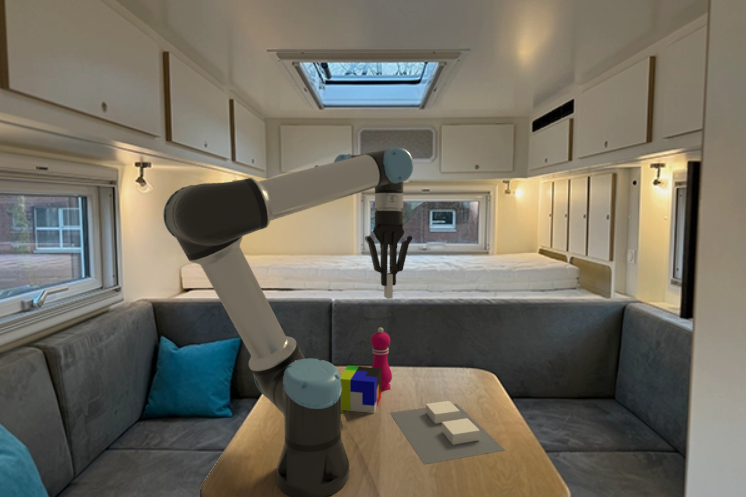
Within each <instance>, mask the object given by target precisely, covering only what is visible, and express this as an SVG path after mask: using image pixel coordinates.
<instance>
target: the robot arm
mask: <svg viewBox="0 0 746 497" xmlns="http://www.w3.org/2000/svg"><path fill="white" fill-rule="evenodd" d="M413 171H414V161H413V157H412V155H411V153H410V152H409V151H408V150H407V149H406V148H403V147H390V148H389V147H388V148H385V149H379V150H376V151H372V152H368V153H367V152H366V153H361V154H351V153H348V154H341V153H340V154H338V156H336V157H335V158H334V161H333V162H331V163H327V164H322V165H319V166H314V167H310V168H307V169H306V168H305V169H303V170H299V171H295V172H291V173H287V174H283V175H279V176H275V177H272V178H271V177H270V178H267V179H264V180H263V179H262V180H259V181H257V180H256V179H254V178H252V177H248V178H243V179H240V180H235V181H234V180H233V181H227V182H226V181H225V182H207V183H206V182H205V183H198V184H190V185H188V186H182V187H181V188H179V189H177V190H176V191H174V192H173V193H172V194H171V195H170V196H169V198H168V199H167V200H166V202H165V204H164V208H163V213H162V214H163V223H164V225H165V226H164V227H165V228H166V229H167V231H168V233H170V234H171V236H173V237H174V238H175V239H176V240H177V242H178V244H179V246H180V247H181V249H182V251H183V253H184V254H185V257H187V260H188V262H190V263H194V264H197V265H199V266H200V267H201V268H202V270H203V272H204V274H205V276H206V278H207V279H208V280H209V283H210V284H211V286H212V289H213V290H214V292H215V293H216V295H217V297H218V299H219V301H220V302H221V304H222V305H223V307H224V309H225V312H226V313H227V315H228V317H229V318H230V320H231V322H232V324H233V326H234V328H235V329H236V331H237V332H238V335H239V336H240V339H242V340H241V341H242V342H243V343H244V345H245V347H246V349H247V351H248V352H249V354H250V358H249V360H248V367H249V369H250V370H251V373H252V375H253V379H254V383H255V386H256V387H257V389H258V391H259V392H260V393H261V394H262V395H263V396H264V397H265V398H267V400H269V401H270V402H271V403H272V405H274V406H275V407H276V408H277V409H278V410H279V411H280V413H282V414H283V416H284V420H283V422H284V444H283V447H282V451H281V454H280V455H279V456H280V457H279V460H278V463H277V466H276V484H277V486H278V488H279V489H280V490H281V491H282V493H284V494H286V495H287V496H289V497H328V496H331V495H333V494H335V493H337V492H339V491H340V490H341V489H342V488H343V487H345V485H346V484H347V482H348V480H349V478H350V460H349V458H348V455H347V452H346V449H345V446H344V442H343V440H342V414H341V392H342V386H341V381H340V376H341V374H340V371H339V369H338V368H337V367H336V366H335V365H334V364H333V363H331V362H330V361H326V360H324V359H321V360H319V359H318V358H311V357H309V358H305V356H304V354H303V352H302V350H301V348H300V347H299V344H298V343H297V341H296V339H295V338H293V337H292V336H287V335H286V334H285V332H284V330H283V328H282V327H281V325H280V322H279V320H278V318H277V317H276V314H275V312H274V310H273V309H272V306H271V305H270V303H269V301H268V299H267V297H266V295H265V293H264V291H263V289H262V287H261V285H260V283H259V282H258V279H257V277H256V276H255V274H254V272H253V270H252V268H251V266H250V264H249V262H248V260H247V258H246V256H245V254H244V253H243V251H242V249H241V243H242V240H243V237H244V236H246V235H249V234H253V233H254V232H257V231H260V230H263V229H266V228H268V227H269V225H270V223H271V222H272V221H274V220H276V219H280V218H284V217H287V216H289V215H293V214H296V213H299V212H303V211H305V210H308V209H311V208H315V207H318V206H322V205H325V204H327V203H330V202H334V201H337V200H341V199H343V198H347V197H350V196H354V195H356V194H359V193H362V192H365V191H368V190H372V189H374V208H375V209H376V210H375V211H374V227H373V230H372V233H371V234H369V235H366V236H365V237H364V240H365V242H366V243H367V244H368V248H369V253H370V257H371V261H372V266H373V269H374V271H375V272H377V273H379V274H380V285H381V286H382V287H383V288H384V289H383V291H384V292H383V293H384V294H383V297H384V298H385V299H387V300H388V299H393V295H394V294H393V287H394V286H396V284H397V274H398V273H399V272H403V270H404V266H405V262H406V258H407V254H408V249H409V246H410V243H411V242H412V240H413V236H412V235H409V234H407V233H406V232H405V228H404V212H403V210H402V209H403V208H404V182H405V181H407V180H409V178H411V176H412V174H413ZM376 240H377V242H379V248H380V260H379V255H378V250H377V247H376V243H375V241H376ZM400 241H401V244H400V245H401V246H400V248H399V249H400V250H399V253H398V243H399V242H400ZM388 249H389V253H388ZM397 253H398V255H397ZM388 255H389V272H388ZM397 256H398V258H397Z"/></svg>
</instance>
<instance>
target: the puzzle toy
mask: <svg viewBox="0 0 746 497" xmlns="http://www.w3.org/2000/svg"><path fill="white" fill-rule="evenodd" d="M371 367H372V366H370V367H369V366H357V365H347V366H346V368H345V369H344V371H343V372H342V374H340V381H341V386H342V392H341V415H345V413H344V411H347V412H348V411H350V412H359V413H360V412H361V413H370V414H375V412H376V410H377V407H378V406H379V403H380V400H381V398H382V391H381V368H371Z"/></svg>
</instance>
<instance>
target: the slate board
mask: <svg viewBox="0 0 746 497" xmlns="http://www.w3.org/2000/svg"><path fill="white" fill-rule="evenodd" d="M452 404H453V405H454V406H455V407H456V408H457V409H458V410H459V411H460V419H466V418H468V419H469V420H470V421H471V422H472V423H473V424H474V425H475V426H476V427H477V428H478V429H479V430H480V440H479V441H473V442H467V443H460V444H454V445H453V444H452V443H451V442H450V441H449V440H448V438H447V437H446V436H445V435H444V434H443V433H442V423H436V424H435V423H434V422H433V421H432V420H431V418H430V417H429V416H428V415H427V414H426V407H421V408H414V409H406V410H401V411H392V412H391V411H390V412H389V414H390V416H391V417H392V419H393V420H394V421H395V424H396V425H397V426H398V427H399V429H400V431H401V432H402V433H403V435H404V436H405V438H406V440H407V441H408V442H409V444H410V446H411V447H412V448H413V450H414V451H415V453H416V454H417V456H418V457H419V459H420V460H421V462H422V463H423V465H429V464H436V463H440V462H445V461H450V460H457V459H458V460H459V459H463V458H468V457H474V456H475V457H476V456H479V455H481V456H482V455H485V454H493V453H497V452H503V451H506V449H505V448H504V447H503V446H502V445H501V444H500V443H499V442H498V441H496V440H495V439H494V438H493V437H492V436H491V435H490V434H489V432H487V431H486V430H485V429H484V428H483V427H482V426H481V425H480V424H479V423H478V422H477V421H475V420H474V419H473V418H472V416H470V415H469V414H468V413H467V412H466V411H465V410H464V409H463V408H462V407H461V406H459V404H458V403H452Z"/></svg>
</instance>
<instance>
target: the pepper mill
mask: <svg viewBox="0 0 746 497" xmlns="http://www.w3.org/2000/svg"><path fill="white" fill-rule="evenodd" d="M370 344H371V345H372V351H371V352H372V354H373V362H372V365H371V366H370V367H371V368H381V392H385V391H389V390H390V391H391V384H390V383H391V381H392V379H393V374H392V370H391V368H390V365H389V363H388V354H389V350H390V349H389V346H390V344H391V337H390V335H389V334H388V333H387V332H385V331H384V328H383V327H378V328H377V332H375V333H373V334H372V336H370Z"/></svg>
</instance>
